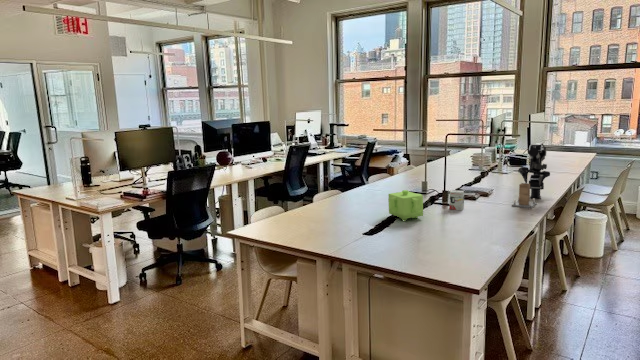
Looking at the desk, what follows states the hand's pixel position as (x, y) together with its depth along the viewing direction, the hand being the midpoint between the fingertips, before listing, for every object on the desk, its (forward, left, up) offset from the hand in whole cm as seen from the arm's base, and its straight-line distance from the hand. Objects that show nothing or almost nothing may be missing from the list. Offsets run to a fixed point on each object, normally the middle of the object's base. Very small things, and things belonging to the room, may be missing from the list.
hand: (533, 184), depth 288 cm
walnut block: (+6, -5, -12) cm, 14 cm away
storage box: (+56, -69, -13) cm, 90 cm away
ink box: (+26, -44, -13) cm, 53 cm away
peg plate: (+6, -5, -13) cm, 15 cm away
